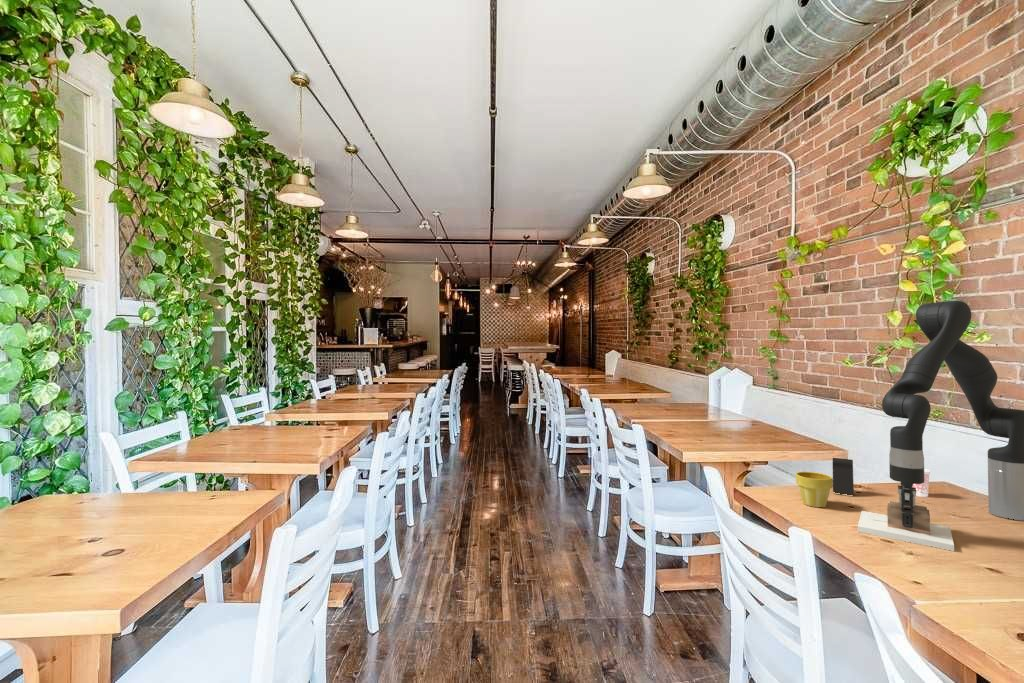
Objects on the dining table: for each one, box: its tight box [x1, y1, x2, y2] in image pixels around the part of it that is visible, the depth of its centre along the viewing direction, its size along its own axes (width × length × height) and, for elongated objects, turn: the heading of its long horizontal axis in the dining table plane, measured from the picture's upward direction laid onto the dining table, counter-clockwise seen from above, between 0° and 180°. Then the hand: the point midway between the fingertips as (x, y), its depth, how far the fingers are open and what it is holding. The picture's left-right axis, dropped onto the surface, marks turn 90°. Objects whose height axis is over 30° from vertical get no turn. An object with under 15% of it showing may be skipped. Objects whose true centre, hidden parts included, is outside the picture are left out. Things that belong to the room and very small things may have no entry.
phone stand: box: [832, 457, 855, 496], centre depth 168 cm, size 9×6×12 cm, turn 146°
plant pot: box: [795, 471, 833, 508], centre depth 155 cm, size 10×10×10 cm
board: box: [857, 510, 955, 552], centre depth 132 cm, size 20×16×2 cm
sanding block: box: [886, 500, 931, 534], centre depth 131 cm, size 9×6×6 cm, turn 50°
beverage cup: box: [912, 468, 931, 498], centre depth 164 cm, size 6×6×14 cm
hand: (907, 523), depth 131 cm, fingers closed on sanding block, 5 cm apart
